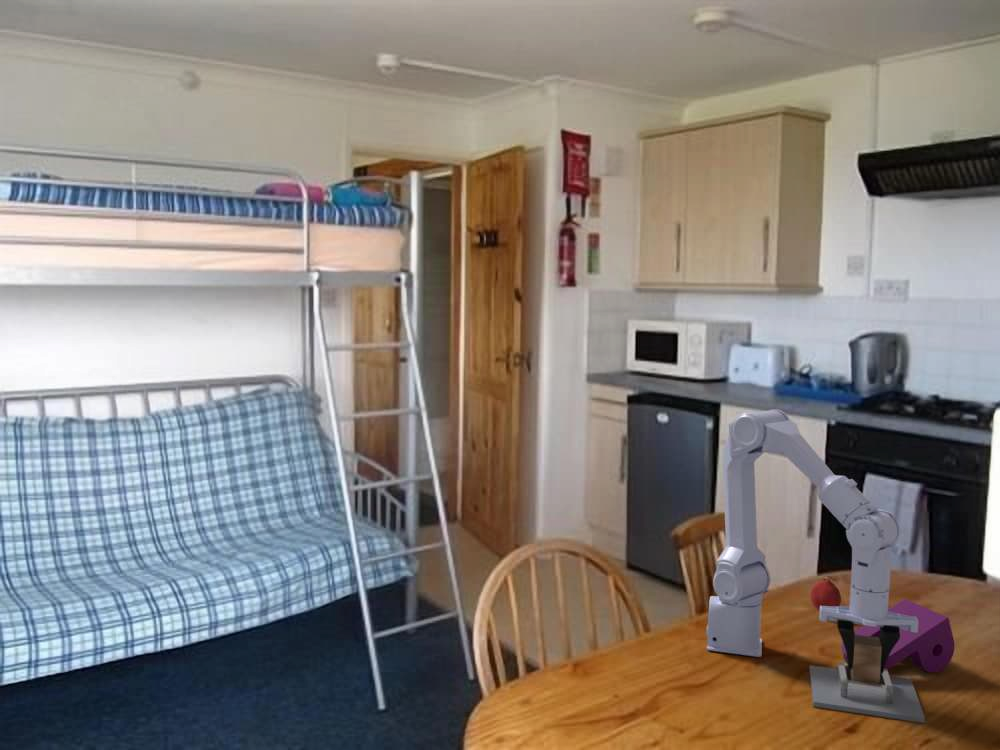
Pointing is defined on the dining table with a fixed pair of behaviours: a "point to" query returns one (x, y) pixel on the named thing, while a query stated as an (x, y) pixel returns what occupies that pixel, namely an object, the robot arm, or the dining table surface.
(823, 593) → the onion
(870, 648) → the walnut peg
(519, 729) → the dining table surface
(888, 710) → the socket board
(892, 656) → the mounting bracket
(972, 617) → the dining table surface
